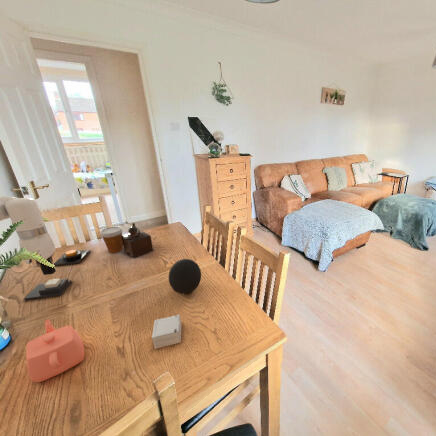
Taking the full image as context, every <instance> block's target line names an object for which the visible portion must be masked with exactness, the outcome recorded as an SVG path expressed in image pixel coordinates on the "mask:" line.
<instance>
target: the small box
mask: <svg viewBox="0 0 436 436" xmlns="http://www.w3.org/2000/svg"><path fill="white" fill-rule="evenodd" d="M152 328H153V329H152V335H151V340H152V344H153V349H154V350H157V349H160V348H165V347H169V346H172V345H176V344H179V343H181V341H182V321H181V315H180V314H176V315H172V316H167V317H162V318H157V319H154V323H153V327H152Z"/></svg>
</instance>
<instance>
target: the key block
mask: <svg viewBox="0 0 436 436" xmlns="http://www.w3.org/2000/svg"><path fill="white" fill-rule="evenodd" d="M75 250H76V249H75ZM76 252H77V254H75V255H73V256H66V254H65V253H66V252H64V253H62V255H61V256H60V257H59V258H58V259H57V260H56V261H55V262H53V264H54V265H55V266H54V267H62V266H72V265H73V266H74V265H80V264H81V263H82V262H83V261H84V259H85V258H87V256H88V255H89V254H90V253H91V250H90V249H84V250H78V249H77V250H76Z"/></svg>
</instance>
